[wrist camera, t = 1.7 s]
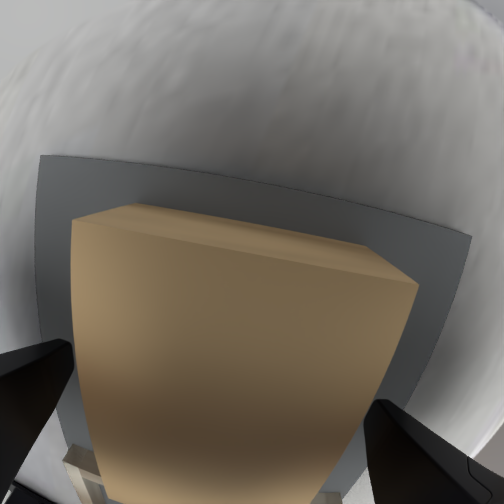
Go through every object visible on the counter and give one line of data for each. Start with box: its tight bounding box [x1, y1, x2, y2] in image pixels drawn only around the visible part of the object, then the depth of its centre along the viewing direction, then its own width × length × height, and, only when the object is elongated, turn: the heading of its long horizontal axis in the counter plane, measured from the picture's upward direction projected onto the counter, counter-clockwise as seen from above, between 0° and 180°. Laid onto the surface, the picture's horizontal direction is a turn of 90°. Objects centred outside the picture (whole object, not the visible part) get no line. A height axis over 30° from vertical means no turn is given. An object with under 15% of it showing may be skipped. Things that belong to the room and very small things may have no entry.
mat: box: [35, 155, 472, 504], centre depth 10 cm, size 22×13×1 cm, turn 169°
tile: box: [71, 203, 419, 504], centre depth 7 cm, size 9×6×3 cm, turn 169°
